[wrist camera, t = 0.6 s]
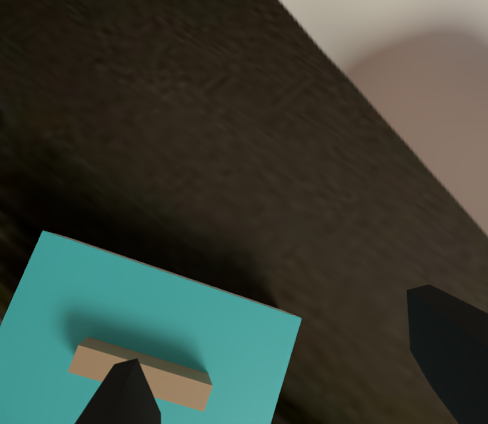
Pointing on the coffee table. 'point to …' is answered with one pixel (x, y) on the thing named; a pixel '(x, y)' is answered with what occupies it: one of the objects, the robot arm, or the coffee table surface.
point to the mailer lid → (136, 340)
